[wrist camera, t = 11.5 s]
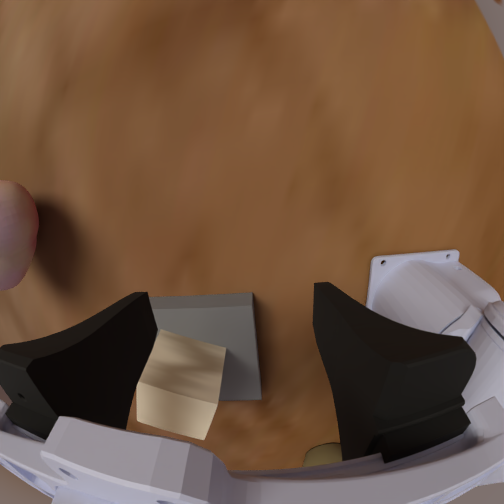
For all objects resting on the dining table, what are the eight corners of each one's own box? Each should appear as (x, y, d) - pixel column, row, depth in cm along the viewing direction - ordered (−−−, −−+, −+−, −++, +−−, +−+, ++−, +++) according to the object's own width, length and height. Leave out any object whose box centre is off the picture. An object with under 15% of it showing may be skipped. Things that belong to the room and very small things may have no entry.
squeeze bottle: (352, 433, 30) (377, 542, 13) (350, 454, 32) (369, 546, 16) (294, 445, 31) (303, 558, 14) (301, 465, 33) (309, 559, 16)
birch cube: (226, 347, 21) (217, 404, 16) (212, 388, 23) (204, 440, 18) (161, 329, 21) (136, 380, 15) (156, 372, 23) (137, 420, 17)
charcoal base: (252, 289, 22) (252, 305, 20) (261, 381, 26) (261, 399, 24) (129, 294, 23) (118, 309, 20) (160, 380, 27) (154, 397, 24)
